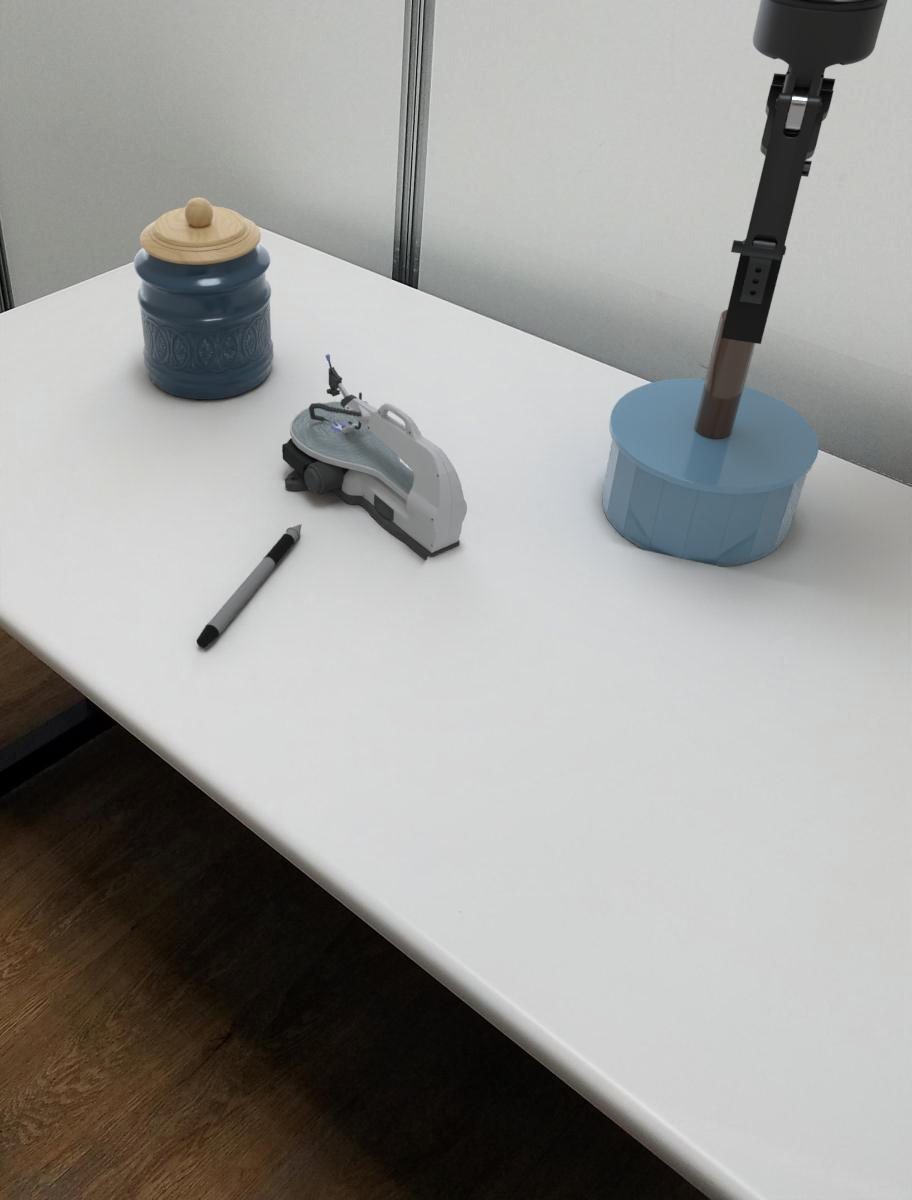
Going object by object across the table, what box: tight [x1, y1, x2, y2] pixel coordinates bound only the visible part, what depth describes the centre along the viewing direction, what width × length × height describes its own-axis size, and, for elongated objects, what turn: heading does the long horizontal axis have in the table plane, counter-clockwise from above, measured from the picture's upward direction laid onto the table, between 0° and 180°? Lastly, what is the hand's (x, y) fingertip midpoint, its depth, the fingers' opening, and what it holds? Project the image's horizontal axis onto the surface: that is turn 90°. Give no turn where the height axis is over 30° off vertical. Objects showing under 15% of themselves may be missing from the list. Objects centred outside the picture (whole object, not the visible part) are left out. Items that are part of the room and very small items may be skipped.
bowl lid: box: [608, 309, 819, 494], centre depth 93 cm, size 16×16×11 cm
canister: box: [133, 197, 274, 400], centre depth 114 cm, size 13×13×18 cm
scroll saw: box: [281, 354, 468, 561], centre depth 100 cm, size 20×11×12 cm
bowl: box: [601, 438, 808, 567], centre depth 99 cm, size 15×16×8 cm
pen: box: [196, 523, 303, 649], centre depth 94 cm, size 1×16×1 cm, turn 153°
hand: (751, 298), depth 88 cm, fingers open, 13 cm apart
